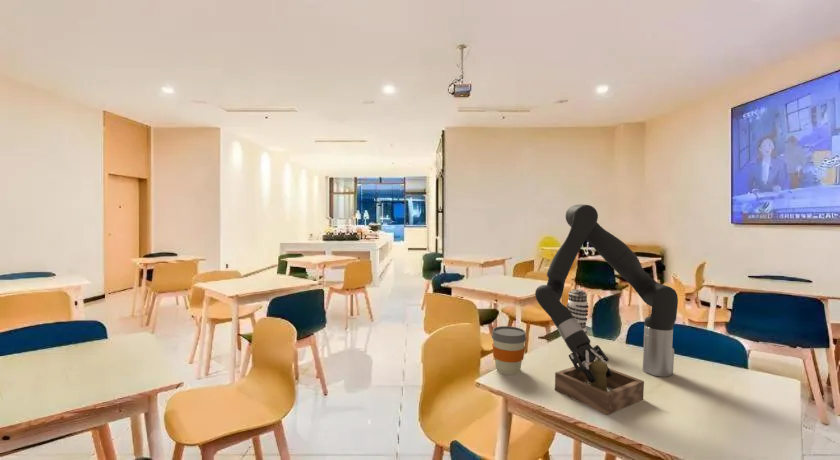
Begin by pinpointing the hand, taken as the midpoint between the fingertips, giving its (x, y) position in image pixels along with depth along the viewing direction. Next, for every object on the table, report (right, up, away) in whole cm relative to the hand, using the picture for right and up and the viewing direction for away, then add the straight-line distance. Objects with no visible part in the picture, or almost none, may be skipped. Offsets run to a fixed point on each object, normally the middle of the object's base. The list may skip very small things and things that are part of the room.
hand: (602, 379), depth 131 cm
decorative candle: (+10, -3, +48) cm, 50 cm away
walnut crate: (-1, -6, +1) cm, 6 cm away
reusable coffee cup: (-26, -4, +21) cm, 34 cm away
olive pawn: (-1, -6, +1) cm, 6 cm away
